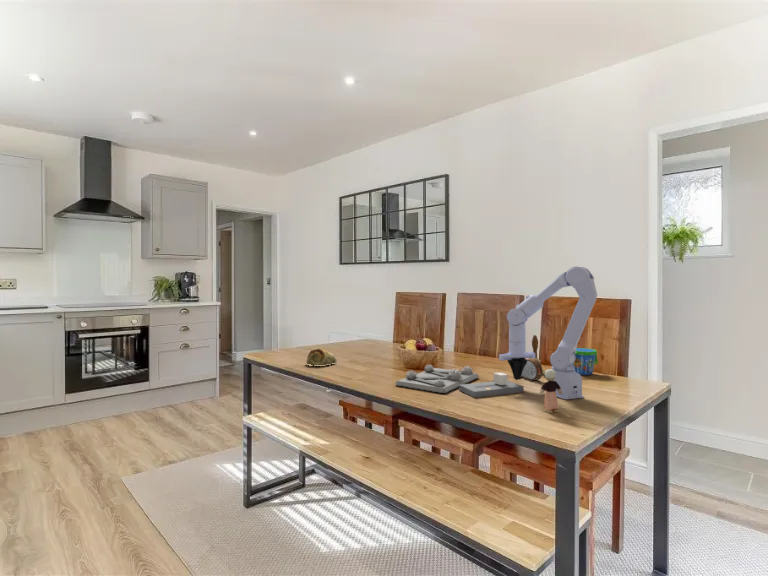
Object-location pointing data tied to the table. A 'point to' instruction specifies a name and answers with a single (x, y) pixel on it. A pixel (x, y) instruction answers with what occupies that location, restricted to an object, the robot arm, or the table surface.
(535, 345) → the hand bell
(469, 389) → the switch board
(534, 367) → the tin
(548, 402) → the grandmother figurine
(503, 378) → the switch tab
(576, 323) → the robot arm
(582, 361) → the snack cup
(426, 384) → the grey knobbed board
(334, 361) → the pastry
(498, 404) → the table surface
